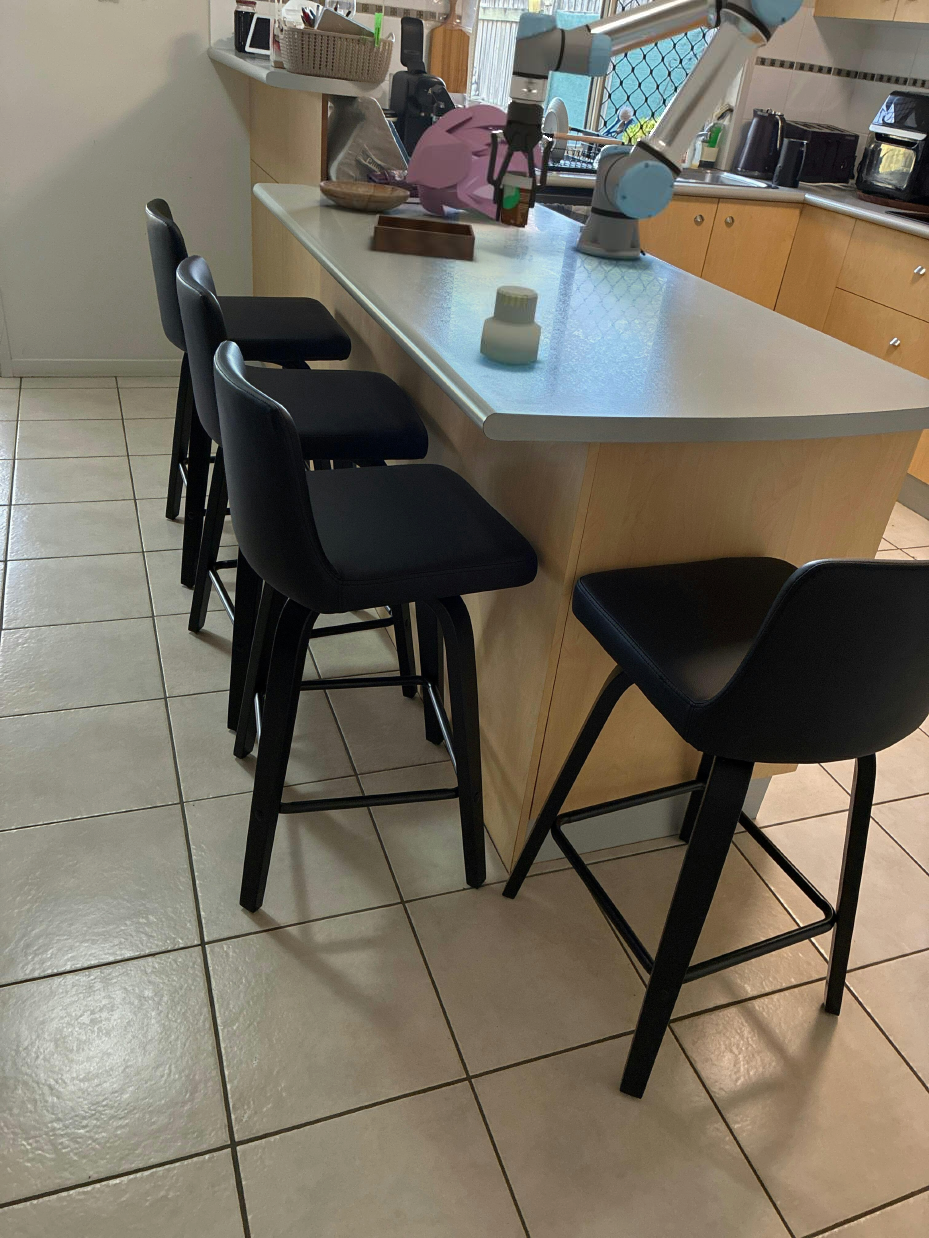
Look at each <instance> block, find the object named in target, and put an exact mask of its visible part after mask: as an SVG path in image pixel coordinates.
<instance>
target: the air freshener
mask: <svg viewBox="0 0 929 1238" xmlns="http://www.w3.org/2000/svg"><path fill="white" fill-rule="evenodd" d="M538 297H539V295H538V292H537V291H536V290H534V289H531V288H529V287H526V286H519V285H501V286H499V287H498V288H497V289H496V295H495V303H494V310H493V315H492V316H489V317H486V318H485V319H484V322H483V324H482V325H483V326H482V330H481V337H480V346H479V352H480V353H481V354H482V356H484V357H486V358H487V359H488V360H490V361H491V362H494V363H498V364H502V365H507V366H526V365H529V364H531V363H534V362H536V361H537V360H538V354H539V349H540V341H541V333H542V326H541V325H540V324H539V323H538V322H536V321H535V318H536V313H537V312H536V311H537V304H538Z"/></svg>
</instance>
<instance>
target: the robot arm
mask: <svg viewBox="0 0 929 1238" xmlns="http://www.w3.org/2000/svg"><path fill="white" fill-rule="evenodd" d="M803 3H804V0H651V1H650V2H647V3H644V4H641V5H638V6H635V7H632V8H629V9H626V10H623V11H620V12H618V13H614V14H612V15H608V16H605V17H603V18H600V19H597V20H594V21H591V22H588V23H586V24H582V25H579V26H576V27H573V28H570V29H566V28H561V27H557V26H558V24H557V17H556V16H555V15H553V14H547V13H541V12H535V11H534V12H533V11H524V12H522V13H521V14H520V16H519V18H518V19H519V20H518V24H517V30H516V36H515V45H514V53H513V54H514V55H513V63H512V72H511V80H510V86H509V94H508V97H509V98H510V101H509V102H508V103H507V104H508V105H507V111H506V114H507V118H506V124H505V126H504V128H503V130H501V131H497V132H494V131H492V132H491V133H490V137H491V143H492V145H491V152H490V159H489V166H488V173H487V182H488V184H491V185H492V186H494V192H493V204H497V209H496V217H495V219H494V220H495V222H496V223H501V222H500V214H501V206H502V198H503V190H504V189H503V188H500V186H501V184H502V183H501V182H502V179H503V176H505V173H506V171H507V168H508V166H509V163H510V161H511V158H512V156H513V154H514V152H520V151H521V152H524V153H526V155H527V159H526V160H527V163H528V171H529V178H532V187H531V192H530V198H529V204H528V211H527V217H526V224H525V226H528V220H529V213H530V209H534V208H535V207H536V206H535V205H536V199H537V194H538V193H539V192H541V191H545V190H546V188H547V180H548V173H549V165H550V156H551V155H550V154H551V151H552V149H553V146H554V144H555V142H554V140H553V139H552V138H550V137H549V138H548V137H547V136H545V135H544V133H543V129H542V126H543V118H544V113H545V107H544V105H543V103H545V102H546V98H547V90H548V82H549V81H548V80H549V76H550V72H553V73H554V72H555V73H561V74H570V75H577V76H584V77H588V78H602V77H604V76H606V74H607V73H608V70H609V67H610V65H611V64H610V63H611V59H612V58H614V57H617V56H620V55H623V54H626V53H629V52H632V51H635V50H638V49H641V48H643V47H647V46H651V45H653V44H656V43H659V42H662V41H664V40H667V39H671V38H673V37H677V36H680V35H684V34H686V33H689V32H692V31H695V30H699V29H701V28H704V29H706V30H707V31H712V30H714V29H717V30H716V31H715V33H713V35H712V37H711V39H710V40H709V42H708V43H707V45H706V46H705V48H704V49H703V51H702V53H701V55H700V56H699V58H698V59H697V60H696V62H695V64H694V65H693V67H692V68H691V70H690V71H689V74H688V75H687V76H686V78H685V79H684V80H683V83H682V84H681V85H680V87H679V89H678V90H677V92H676V93H675V95H674V97H673V98H672V100H671V101H670V103H669V104H668V106H667V107H666V109H665V110H664V112H663V113H662V115H661V117H660V118H659V120H658V122H657V123H656V124H655V126H654V128H653V129H652V130H651V132H650V134H648V135H647V136H643V137H640V138H638V139H637V141H636V142H635V144H634V146H630V145H615V144H612V145H611V144H609V145H604V147H602V148H601V150H600V154H599V158H598V160H597V170H596V175H595V181H594V187H593V188H594V189H593V194H592V199H591V200H592V201H591V206H590V211H589V216H588V218H587V220H586V222H585V223H584V224H585V225H580V226H579V233H580V235H579V237H578V239H577V243H576V250H577V251H579V252H581V253H584V254H586V255H590V256H595V257H599V258H604V259H611V260H612V259H613V260H624V261H625V260H627V261H629V260H632V261H633V260H637V259H640V255H642V256H643V257H645V256H646V255H647V253H646V252H645V251H644V250H643V249H642V247H641V237H640V228H639V220H647V219H652V218H654V217H656V216H658V215H659V214H661V213H662V212H663V211H664V210H665V209H666V208H667V207H668V205H669V204H670V203H671V201H672V198H673V197H674V192H675V182H676V181H677V180H678V178H679V176H680V174H681V173H682V172H683V162H682V161H683V158H684V156H685V155H686V154H687V152H688V150H689V149H690V147H691V145H692V144H693V143H694V141H695V140H696V138H697V136H698V135H699V134H700V132H701V131H702V129H703V128H704V126H705V124H706V123H707V121H708V120H709V119H710V117H711V115H712V114H713V113H714V111H715V109H716V108H717V107H718V106H719V103H721V100H722V99H723V98H724V96H725V95H726V93H727V92H728V90H729V89H730V87H731V86H732V84H733V83H734V81H735V79H736V78H737V77H738V75H739V73H740V72H741V70H742V69H743V67H744V66H745V64H747V61H748V60H749V59H750V57H751V55H752V54H753V53H754V51H755V50H756V49H760V48H764V47H766V46H767V44H768V43H769V42H770V40H771V38H772V37H773V36H774V34H775V33H776V31H777V30H778V28H779V27H780V26H783V25H784V24H787V23H788V22H789V21H790V20H792V19H793V18H794V17H795V16H796V15H797V14H798V13H799V11H800V9H801V7H802V5H803ZM502 136H504V138H505V140H506V142H507V144H508V148H507V151H506V154H505V157H504V159H503V162H502V165H501V167H500V170H499V172H498V175H497V178H496V180H495V179H493V177H494V170H495V164H496V157H497V150H498V143H499V142H500V141H501V137H502ZM540 142H541V148H543V150H542V163H541V170H540V174H539V180H538V182H539V184H537V183H536V174H537V173H536V174H535V172H536V166H535V165H534V153H533V149H534V148H535V146H536V145H537V144H540Z"/></svg>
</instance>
